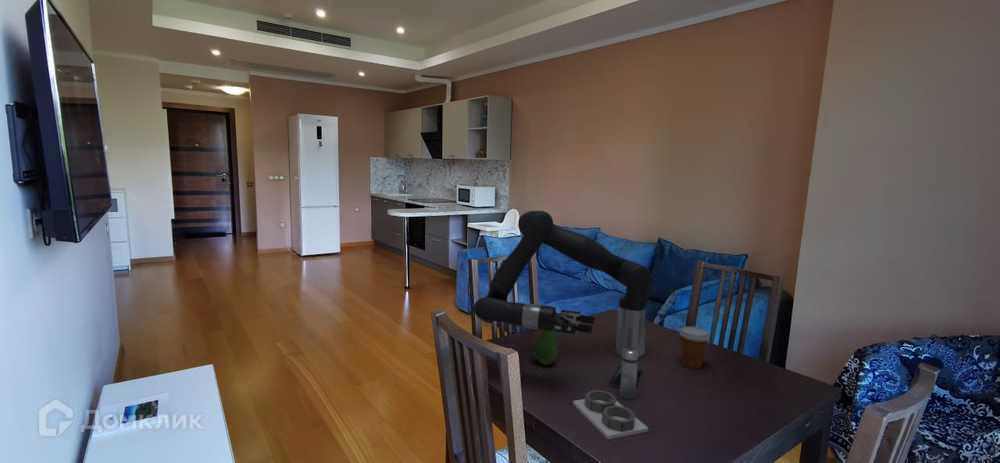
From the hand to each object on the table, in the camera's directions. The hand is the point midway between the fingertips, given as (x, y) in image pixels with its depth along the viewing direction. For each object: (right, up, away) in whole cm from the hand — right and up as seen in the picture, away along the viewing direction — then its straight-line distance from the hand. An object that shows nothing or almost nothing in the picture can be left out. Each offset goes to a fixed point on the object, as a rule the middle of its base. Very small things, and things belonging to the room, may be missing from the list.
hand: (592, 324), depth 140 cm
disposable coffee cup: (+39, -18, +24) cm, 49 cm away
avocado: (-12, -17, +21) cm, 29 cm away
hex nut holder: (+2, -23, -12) cm, 26 cm away
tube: (+10, -21, 0) cm, 23 cm away
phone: (+13, -20, +10) cm, 26 cm away
